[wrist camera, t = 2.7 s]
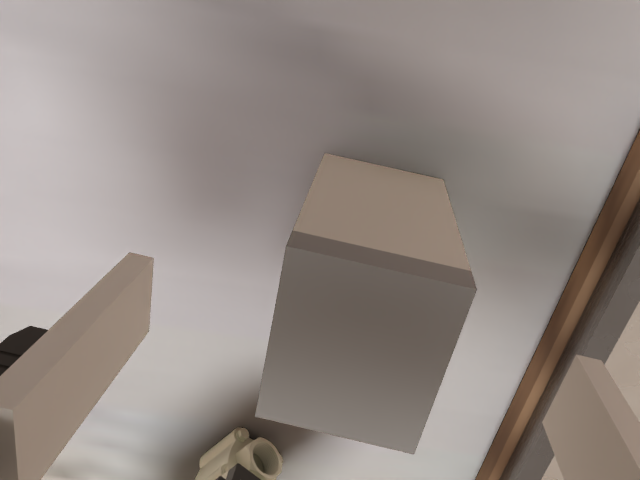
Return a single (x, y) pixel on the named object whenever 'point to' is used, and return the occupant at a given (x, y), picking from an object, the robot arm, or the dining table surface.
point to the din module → (366, 306)
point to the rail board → (581, 334)
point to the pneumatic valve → (240, 459)
